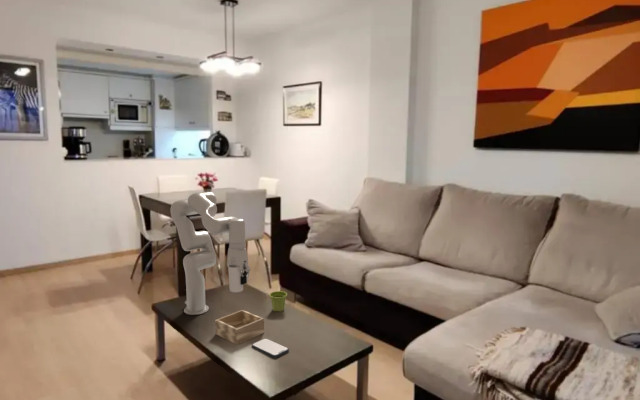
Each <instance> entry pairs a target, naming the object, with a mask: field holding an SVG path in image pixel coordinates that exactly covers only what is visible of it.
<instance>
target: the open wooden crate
mask: <svg viewBox="0 0 640 400" xmlns="http://www.w3.org/2000/svg"><path fill="white" fill-rule="evenodd" d="M214 322H215V324H214V325H215V335H217V336H219V337H221V338H223V339H225V340H227V341H228V342H231V343H232V344H235V345H240V344H242V343H244V342H247V341H249V340H251V339H253V338H256V337H258V336H260V335H262V334H264V333H265V318H264V317H261V316H259V315H256V314H255V313H251V312H249V311H246V310H244V309H240V310H238V311H235V312H233V313H229V314H227V315H225V316H222V317H220V318H217V319H215V321H214Z"/></svg>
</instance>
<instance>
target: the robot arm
mask: <svg viewBox="0 0 640 400" xmlns="http://www.w3.org/2000/svg"><path fill="white" fill-rule="evenodd" d="M169 212H170V216H171V217H170V218H171V219H172V221H173V223H174V224H175V227H176V230H177V234H178V238H179V241H180V245H181V248H182V250H183V251H185V252H190V251H195V250H196V251H195V252H190V253H188V254H186V255H185V256H184V257H183V259H182V264H183V268H184V273H185V274H184V275H185V286H186V289H185V291H186V293H185V294H186V300H185V301H184V304H186V306H185V308H184V309H183V312H184V313H185V314H186V315H188V316H189V315H191V316H194V315H195V316H197V315H201V314H205V313H207V312H208V311H209V306H208V305H207V304H206V283H205V276H204V274H203V273H202V272H201V270H205V269H209V268H212V267H213V266H215V265H216V263H217V256H216V251H215V247H214V245H213V240H212V238H211V235H210V234H212V235H214V236H215V235H223V234H228V249H227V257H226V258H227V262H226V266H227V267H228V265H230V267H238V271H241V276H240V278H241V285H243V286H244V285H246V284H247V283H248V281H247V274H248V273H249V274H250V271H251V268H250V266H249V261H248V260H249V259H248V258H249V257H248V252H247V248H246V247H247V246H246V222H245V220H244V219H243V218H237V217H235V216H231V215H230V216H225V217H219V218H218V217H217V218H214V217H215V216H216V214H217V212H218V207H217V197H216V194H215V193H213V192H211V191H202V192H194V193H191V194H190V195H189V196H188V198H187V199H186V198H185V199H181V200H177V201H174V202H173V203H171V206H170V211H169ZM193 215H200V216H201V223H202V225H203V228H204V229H205V230H199V231H196V230H195V227H194V223H193V222H192V221H191V219H189V217H187V216H193ZM207 231H208V232H207ZM209 233H210V234H209ZM197 250H200V251H197Z"/></svg>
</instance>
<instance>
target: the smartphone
mask: <svg viewBox="0 0 640 400" xmlns="http://www.w3.org/2000/svg"><path fill="white" fill-rule="evenodd" d="M251 348H253V349H255V350H257V351H258V352H260V353H263V354H265V355H267V356H268V357H270V358H272V359H278V358H280V357H281V356H283V355H286V354H287V353H289V351H290V350H289V347H287V346H284V345H282V344H280V343H278V342H275V341H273V340H271V339H269V338H263V339H260V340H257V341H256V342H253V343H252V344H251Z"/></svg>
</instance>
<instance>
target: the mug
mask: <svg viewBox="0 0 640 400" xmlns="http://www.w3.org/2000/svg"><path fill="white" fill-rule="evenodd" d="M227 270H228V283H229V284H228V286H229V287H228V288H229V292H230V293H231V292H232V293H241V292H243V291H244V284H243V285H241V278H240V276H241V271H238V267H230V265H228V266H227ZM249 277H250V272H249V273H248V274H247V282H248V281H249V280H248V279H249Z"/></svg>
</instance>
